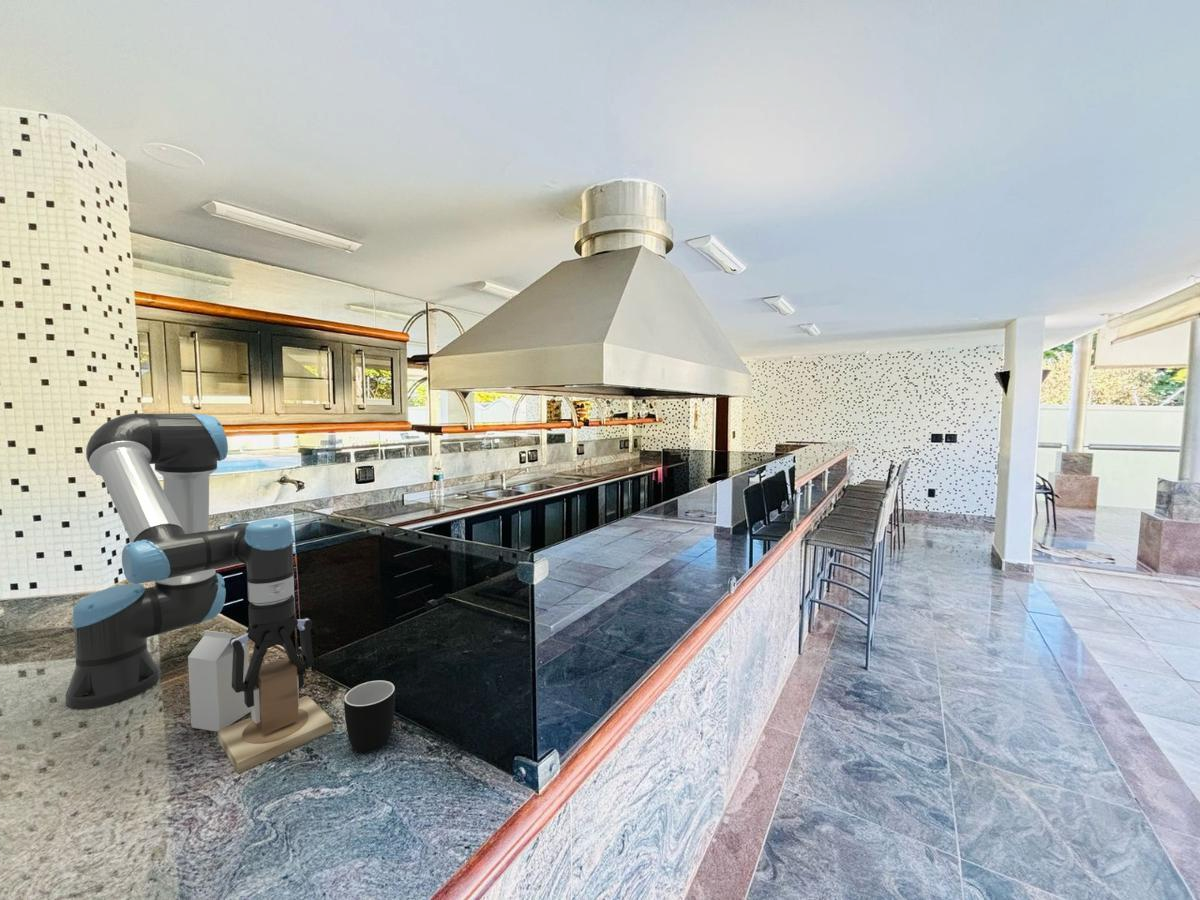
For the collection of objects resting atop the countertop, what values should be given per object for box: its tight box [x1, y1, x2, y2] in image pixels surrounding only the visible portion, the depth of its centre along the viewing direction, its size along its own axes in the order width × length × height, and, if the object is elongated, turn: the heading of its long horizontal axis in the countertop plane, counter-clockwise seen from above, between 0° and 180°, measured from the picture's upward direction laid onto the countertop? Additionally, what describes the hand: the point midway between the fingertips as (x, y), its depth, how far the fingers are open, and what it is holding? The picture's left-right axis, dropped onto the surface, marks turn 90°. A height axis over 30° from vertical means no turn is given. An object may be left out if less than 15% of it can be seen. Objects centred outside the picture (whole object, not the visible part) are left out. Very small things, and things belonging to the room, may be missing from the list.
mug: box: [343, 680, 396, 754], centre depth 95 cm, size 12×9×10 cm
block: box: [254, 657, 299, 735], centre depth 96 cm, size 6×6×11 cm
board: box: [217, 695, 335, 775], centre depth 96 cm, size 14×16×2 cm
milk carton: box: [187, 629, 251, 733], centre depth 101 cm, size 7×7×19 cm
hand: (275, 711), depth 96 cm, fingers closed on block, 6 cm apart
